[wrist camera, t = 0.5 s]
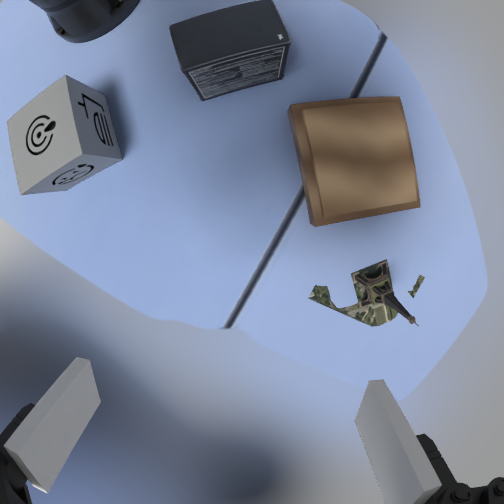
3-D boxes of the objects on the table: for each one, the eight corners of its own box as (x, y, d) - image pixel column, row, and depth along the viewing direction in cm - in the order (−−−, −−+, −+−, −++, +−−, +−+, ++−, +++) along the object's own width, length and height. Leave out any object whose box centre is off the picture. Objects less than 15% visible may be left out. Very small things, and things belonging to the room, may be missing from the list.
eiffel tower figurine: (305, 297, 38) (328, 350, 25) (341, 227, 36) (385, 251, 23) (389, 333, 40) (430, 384, 27) (423, 274, 38) (479, 309, 25)
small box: (268, 38, 30) (272, -6, 20) (284, 79, 32) (295, 43, 21) (188, 61, 31) (166, 22, 21) (201, 103, 32) (181, 73, 22)
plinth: (287, 111, 32) (291, 102, 29) (389, 101, 32) (403, 94, 28) (310, 223, 36) (316, 228, 32) (409, 205, 35) (424, 207, 31)
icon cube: (105, 95, 32) (65, 74, 22) (123, 159, 34) (82, 153, 24) (51, 129, 33) (6, 121, 23) (66, 190, 35) (20, 195, 25)
